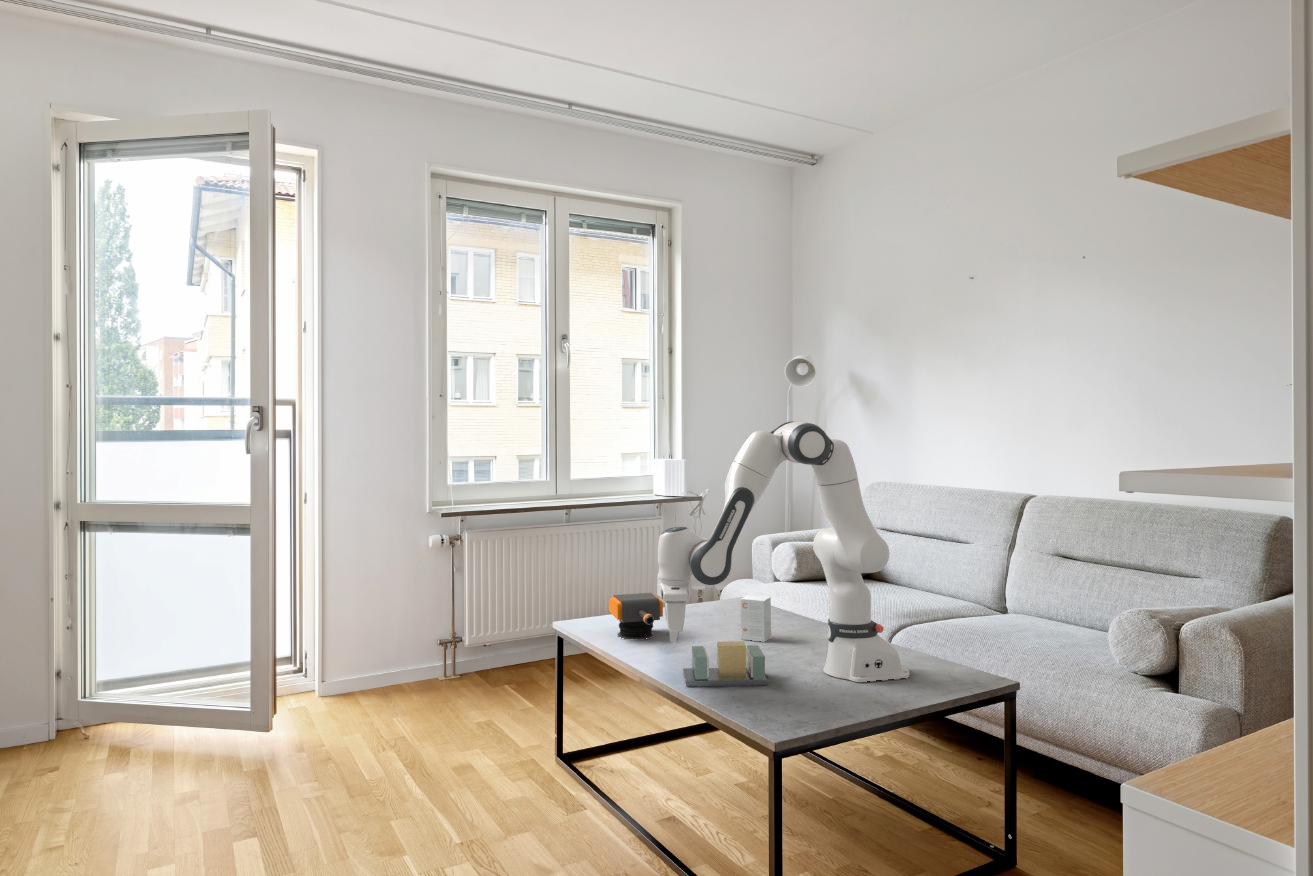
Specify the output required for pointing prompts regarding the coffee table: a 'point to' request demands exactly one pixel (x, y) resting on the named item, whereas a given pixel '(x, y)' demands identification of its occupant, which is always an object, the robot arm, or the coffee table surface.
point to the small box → (755, 618)
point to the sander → (636, 614)
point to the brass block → (731, 658)
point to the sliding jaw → (700, 662)
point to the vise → (753, 676)
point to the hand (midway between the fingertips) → (673, 641)
